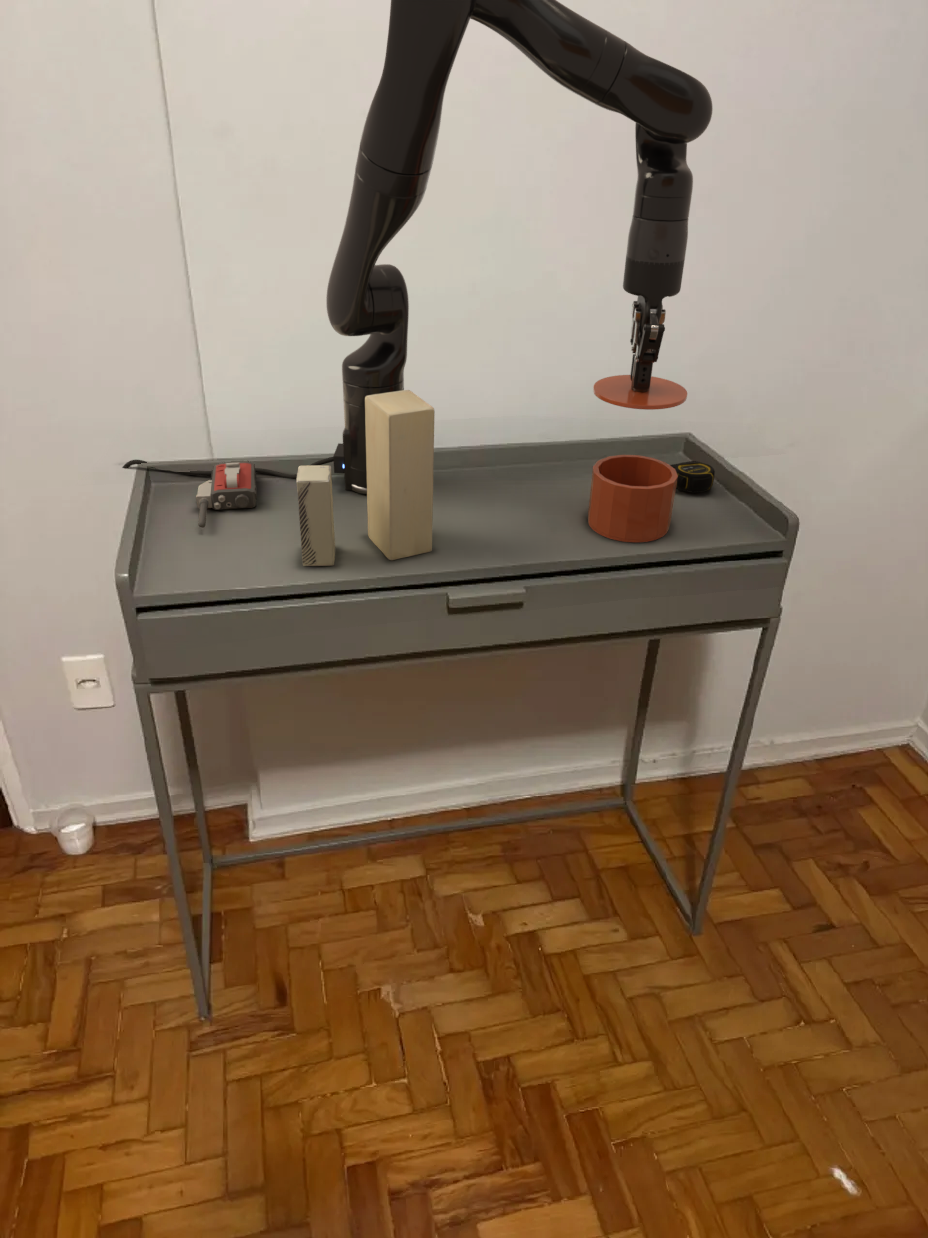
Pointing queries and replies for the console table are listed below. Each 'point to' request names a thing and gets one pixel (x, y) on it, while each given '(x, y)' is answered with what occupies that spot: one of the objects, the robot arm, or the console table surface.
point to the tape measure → (694, 476)
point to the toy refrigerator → (399, 472)
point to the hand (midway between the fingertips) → (639, 384)
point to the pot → (631, 498)
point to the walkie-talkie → (227, 488)
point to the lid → (640, 392)
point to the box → (316, 515)
